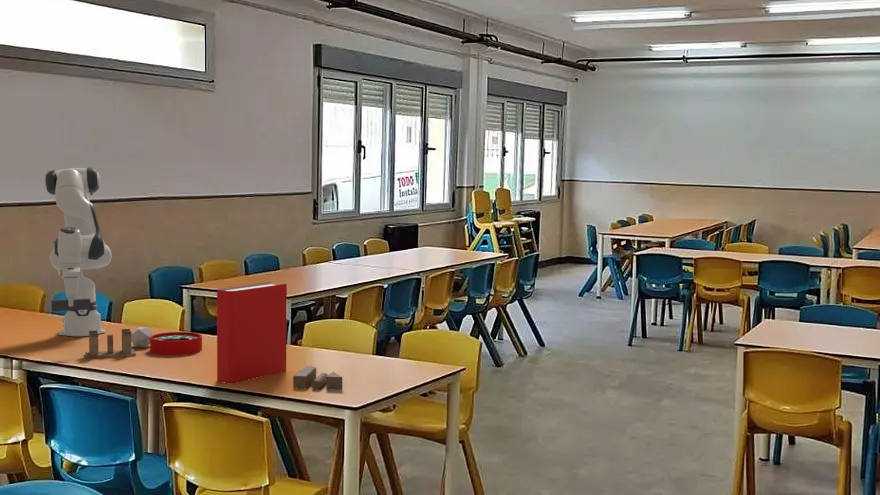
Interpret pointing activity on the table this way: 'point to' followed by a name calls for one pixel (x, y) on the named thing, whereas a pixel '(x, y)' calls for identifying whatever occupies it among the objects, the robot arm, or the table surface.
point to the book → (251, 331)
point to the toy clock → (175, 343)
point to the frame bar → (63, 306)
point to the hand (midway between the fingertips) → (70, 305)
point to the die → (141, 337)
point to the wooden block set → (316, 379)
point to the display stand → (110, 346)
